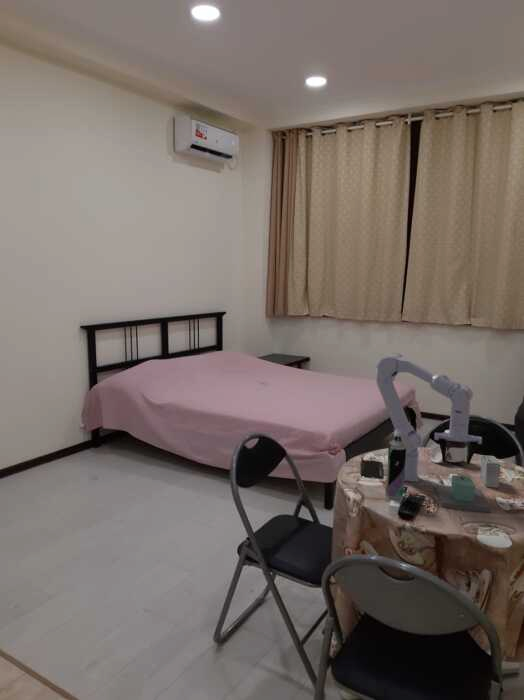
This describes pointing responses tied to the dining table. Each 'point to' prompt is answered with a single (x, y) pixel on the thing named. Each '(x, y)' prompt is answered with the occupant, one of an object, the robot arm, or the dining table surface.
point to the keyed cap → (462, 488)
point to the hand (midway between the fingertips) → (455, 462)
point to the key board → (450, 502)
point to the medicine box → (490, 471)
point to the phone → (371, 469)
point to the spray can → (395, 468)
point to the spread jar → (450, 452)
